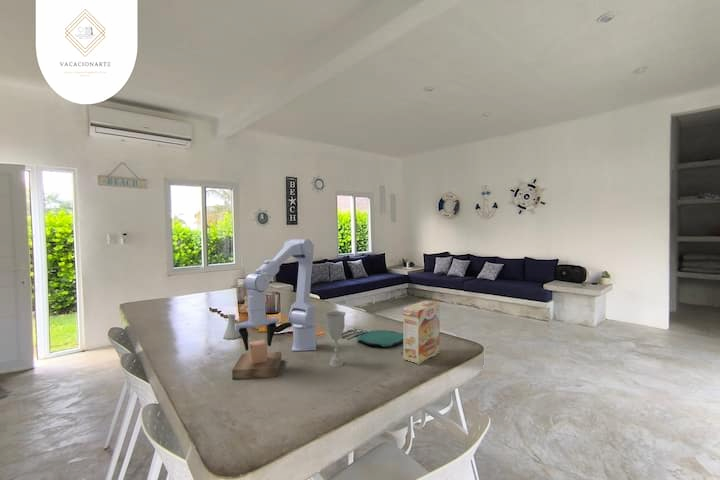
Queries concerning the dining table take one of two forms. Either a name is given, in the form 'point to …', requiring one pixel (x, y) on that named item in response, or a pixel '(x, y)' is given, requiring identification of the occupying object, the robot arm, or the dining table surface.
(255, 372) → the walnut base
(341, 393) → the dining table surface
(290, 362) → the dining table surface
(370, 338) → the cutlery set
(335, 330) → the chalice
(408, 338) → the coffeecake box
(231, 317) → the flask
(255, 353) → the terracotta block
